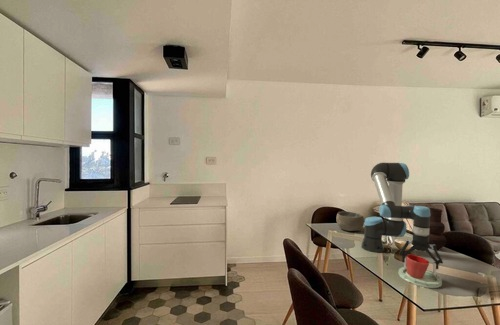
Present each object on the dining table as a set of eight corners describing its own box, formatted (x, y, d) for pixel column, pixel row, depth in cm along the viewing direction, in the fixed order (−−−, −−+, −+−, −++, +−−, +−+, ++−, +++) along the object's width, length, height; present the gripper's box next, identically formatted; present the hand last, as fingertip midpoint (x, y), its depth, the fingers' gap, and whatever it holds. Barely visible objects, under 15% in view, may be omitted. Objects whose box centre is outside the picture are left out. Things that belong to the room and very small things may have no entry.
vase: (438, 253, 174) (440, 212, 173) (416, 245, 188) (418, 207, 188) (451, 250, 180) (452, 210, 180) (429, 243, 194) (430, 206, 194)
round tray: (398, 281, 133) (399, 277, 133) (398, 267, 150) (398, 263, 150) (445, 292, 123) (445, 288, 123) (438, 275, 140) (438, 272, 140)
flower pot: (430, 282, 131) (433, 265, 130) (408, 277, 133) (411, 260, 133) (421, 272, 141) (423, 256, 141) (400, 268, 144) (403, 252, 143)
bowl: (333, 225, 241) (334, 210, 240) (359, 226, 237) (359, 211, 237) (339, 232, 217) (339, 216, 216) (367, 234, 213) (368, 217, 213)
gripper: (395, 231, 139) (393, 268, 140) (450, 240, 126) (448, 280, 127) (395, 228, 145) (393, 263, 146) (447, 236, 133) (446, 274, 133)
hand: (419, 271), depth 136 cm, fingers open, 13 cm apart
